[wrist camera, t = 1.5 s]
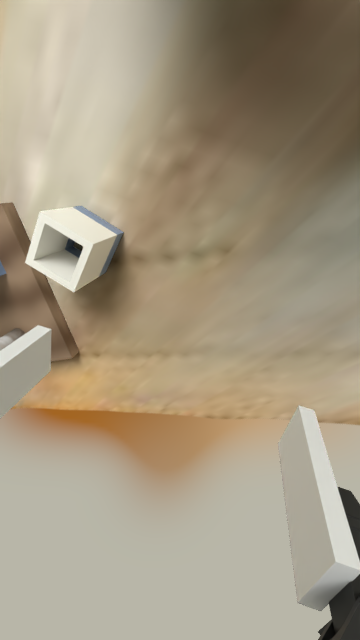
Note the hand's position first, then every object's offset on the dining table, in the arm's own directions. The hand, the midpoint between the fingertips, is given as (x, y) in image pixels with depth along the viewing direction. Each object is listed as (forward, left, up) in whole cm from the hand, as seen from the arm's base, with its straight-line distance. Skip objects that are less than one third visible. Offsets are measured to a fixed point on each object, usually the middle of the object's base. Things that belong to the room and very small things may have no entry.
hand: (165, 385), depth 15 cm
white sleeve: (-7, -14, -23) cm, 28 cm away
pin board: (-3, -30, -23) cm, 38 cm away
